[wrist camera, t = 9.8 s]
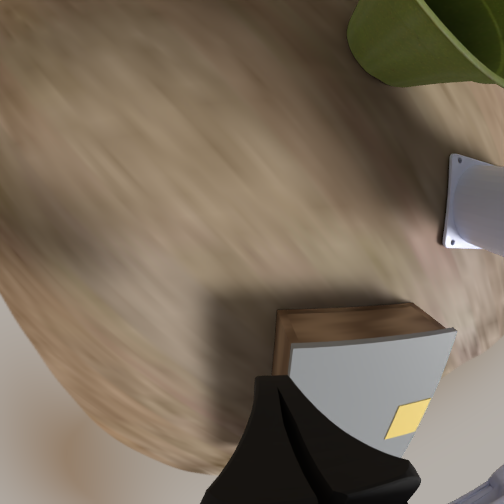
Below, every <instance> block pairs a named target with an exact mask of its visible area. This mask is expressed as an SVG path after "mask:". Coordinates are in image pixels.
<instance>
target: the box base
mask: <svg viewBox="0 0 504 504" xmlns="http://www.w3.org/2000/svg"><path fill="white" fill-rule="evenodd" d="M440 329H446V328H445V327H444V326H442V325H441V324H440V323H438V322H437V321H436V320H435V319H433V318H432V317H431V316H429V315H428V314H427V313H426V312H424V311H423V310H422V309H420V308H419V307H418V306H416V305H415V304H414V303H403V304H390V305H376V306H360V307H342V308H319V309H286V310H277V316H276V329H275V342H274V354H273V366H272V376H275V375H288V367H289V359H290V350H291V343H311V342H329V341H343V340H356V339H367V338H377V337H387V336H396V335H404V334H412V333H420V332H427V331H433V330H440Z"/></svg>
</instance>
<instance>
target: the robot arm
mask: <svg viewBox="0 0 504 504" xmlns="http://www.w3.org/2000/svg"><path fill="white" fill-rule="evenodd" d="M458 159H459V162H458ZM451 241H452V243H451ZM443 246H444V247H446V248H465V249H485V250H488V251H490V252H493V253H495V254H498V255H500V256H503V257H504V167H502V166H495V165H492V164H489V163H486V162H482V161H479V160H476V159H473V158H469V157H466V156H463V155H459V154H451V155H450V162H449V184H448V198H447V209H446V218H445V227H444V235H443ZM420 483H421V478H420V477H419V475H418V473H417V471H416V470H415V468H414V467H413V465H412V464H411V463H410V461H409V460H406V459H402V458H399V457H396V456H393V455H390V454H387V453H384V452H382V451H380V450H377V449H375V448H373V447H371V446H369V445H367V444H365V443H363V442H361V441H360V440H358V439H356V438H354V437H352V436H351V435H349V434H348V433H346V432H345V431H343V430H342V429H341V428H339V427H338V426H337V425H335V424H334V423H333V422H332V421H330V420H329V419H328V418H327V417H326V416H325V415H324V414H322V413H321V412H320V411H319V410H318V409H317V408H316V407H315V406H314V405H313V404H312V403H311V402H310V401H309V399H308V398H307V397H306V396H305V395H304V394H303V393H302V392H301V390H300V389H299V388H298V387H297V386H296V384H295V383H294V382H293V380H292V379H291V378H290V377H289V376H288V375H275V376H257V377H256V378H255V386H254V403H253V408H252V412H251V415H250V418H249V421H248V424H247V426H246V429H245V431H244V434H243V436H242V438H241V440H240V442H239V444H238V446H237V448H236V450H235V452H234V454H233V455H232V457H231V459H230V460H229V462H228V463H227V465H226V466H225V468H224V469H223V470H222V472H221V473H220V475H219V476H218V477H217V478H216V480H215V481H214V482H213V483H212V484H211V486H210V487H209V488H208V489H207V490H206V492H205V495H204V497H203V499H202V501H201V503H200V504H408V503H407V501H408V500H409V499H410V497H411V496H412V495H413V494H414V493H415V491H416V490H417V489H418V487H419V485H420ZM448 504H504V465H502V466H501V467H500V468H499V469H497V470H496V471H495V472H494V473H493V474H492V476H491V477H490V478H489V479H488V481H486V482H485V483H483V484H482V485H480V486H478V487H477V488H475V489H474V490H472V491H470V492H469V493H467V494H465V495H463V496H461V497H460V498H458V499H456V500H454V501H452V502H450V503H448Z"/></svg>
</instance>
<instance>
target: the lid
mask: <svg viewBox="0 0 504 504" xmlns="http://www.w3.org/2000/svg"><path fill="white" fill-rule="evenodd" d="M456 334H457V330H456V329H454V328H453V327H452V328H446V329H440V330H433V331H427V332H420V333H412V334H404V335H396V336H387V337H377V338H367V339H356V340H343V341H329V342H311V343H291V350H290V359H289V367H288V376H289V377H290V378H291V379H292V380H293V382H294V383H295V384H296V386H297V387H298V388H299V389H300V390H301V392H302V393H303V394H304V395H305V396H306V397H307V398H308V399H309V401H310V402H311V403H312V404H313V405H314V406H315V407H316V408H317V409H318V410H319V411H320V412H321V413H322V414H324V415H325V416H326V417H327V418H328V419H329V420H330V421H332V422H333V423H334V424H335V425H337V426H338V427H339V428H341V429H342V430H343V431H345V432H346V433H348V434H349V435H351V436H352V437H354V438H356V439H358V440H360V441H361V442H363V443H365V444H367V445H369V446H371V447H373V448H375V449H377V450H380V451H382V452H384V453H387V454H390V455H393V456H396V457H399V458H401V457H402V455H403V454H404V452H405V450H406V449H407V447H408V445H409V443H410V442H411V440H412V438H413V436H414V434H415V432H416V430H417V428H418V426H419V425H420V423H421V421H422V419H423V416H424V414H425V412H426V410H427V408H428V406H429V404H430V401H431V399H432V397H433V395H434V392H435V390H436V388H437V385H438V383H439V381H440V378H441V376H442V373H443V371H444V368H445V366H446V363H447V360H448V357H449V355H450V352H451V349H452V346H453V343H454V340H455V337H456Z"/></svg>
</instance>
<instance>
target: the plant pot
mask: <svg viewBox="0 0 504 504" xmlns="http://www.w3.org/2000/svg"><path fill="white" fill-rule="evenodd" d="M347 40H348V44H349V47H350V50H351V52H352V54H353V55H354V57H355V59H356V60H357V61H358V63H359V64H360V65H361V66H362V67H363V69H364V70H365V71H366V72H368V73H369V74H370V75H372V76H374V77H376V78H378V79H379V80H381V81H382V82H384V83H385V84H387V85H390V86H394V87H411V86H419V85H428V84H437V83H449V82H464V81H473V82H477V83H482V84H497V85H499V86H500V87H502V88H504V0H359V2H358V4H357V6H356V8H355V10H354V12H353V14H352V16H351V19H350V21H349V24H348V28H347Z"/></svg>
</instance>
